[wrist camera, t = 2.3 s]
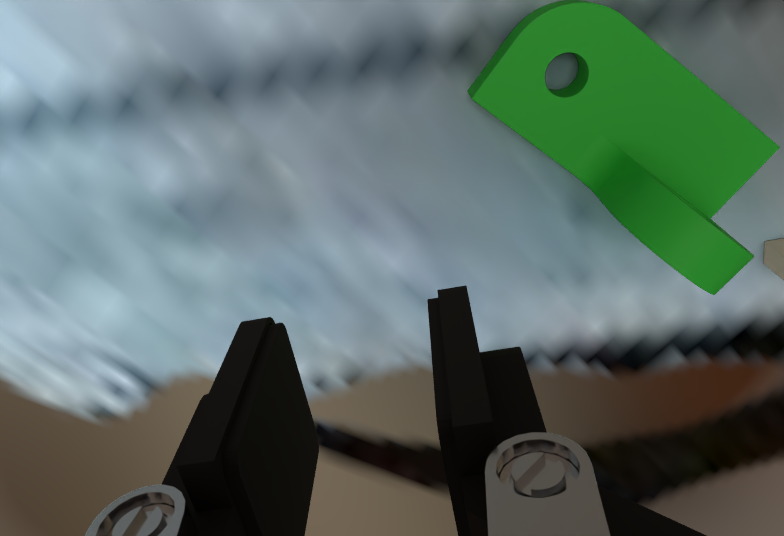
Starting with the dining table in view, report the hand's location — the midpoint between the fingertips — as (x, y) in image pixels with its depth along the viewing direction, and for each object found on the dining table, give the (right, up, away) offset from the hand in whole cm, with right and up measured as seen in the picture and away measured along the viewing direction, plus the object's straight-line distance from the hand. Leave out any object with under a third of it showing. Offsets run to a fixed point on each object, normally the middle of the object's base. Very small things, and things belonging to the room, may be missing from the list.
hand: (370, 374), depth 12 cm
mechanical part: (+10, +9, +17) cm, 22 cm away
